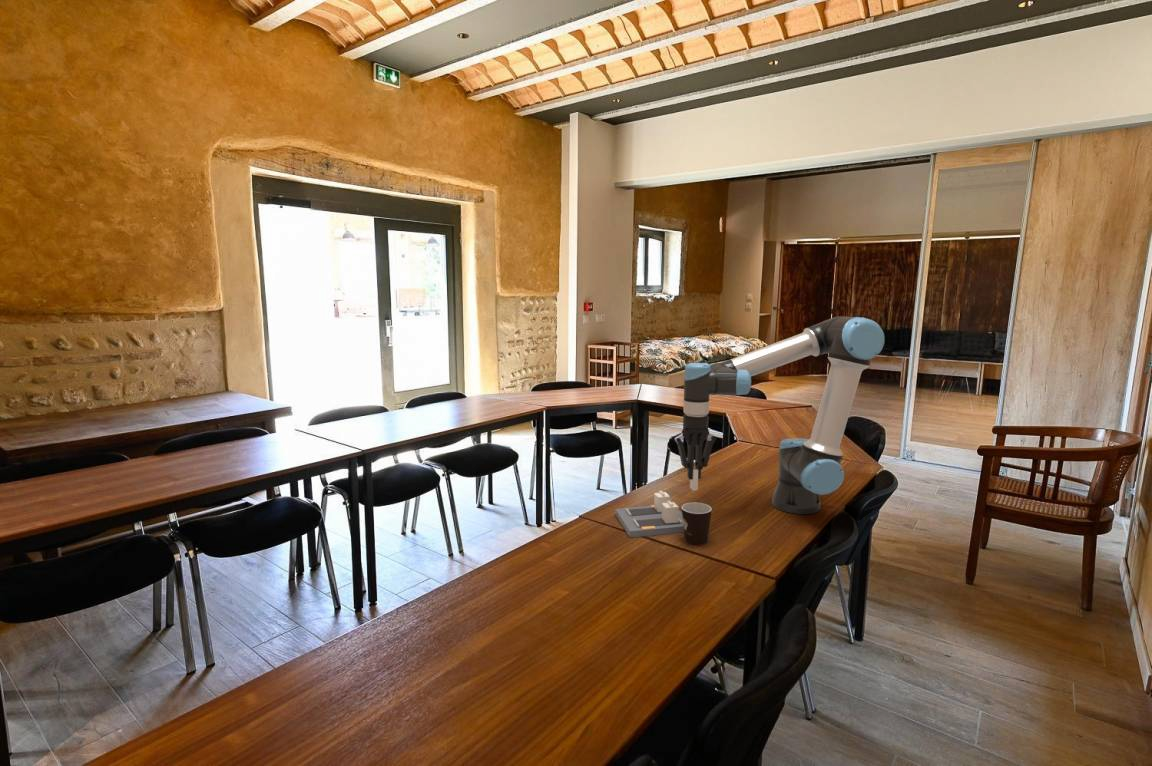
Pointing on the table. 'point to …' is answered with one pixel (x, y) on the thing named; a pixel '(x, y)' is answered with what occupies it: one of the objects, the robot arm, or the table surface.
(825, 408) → the robot arm
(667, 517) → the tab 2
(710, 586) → the table surface
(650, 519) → the switch board
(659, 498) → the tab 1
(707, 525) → the coffee mug
